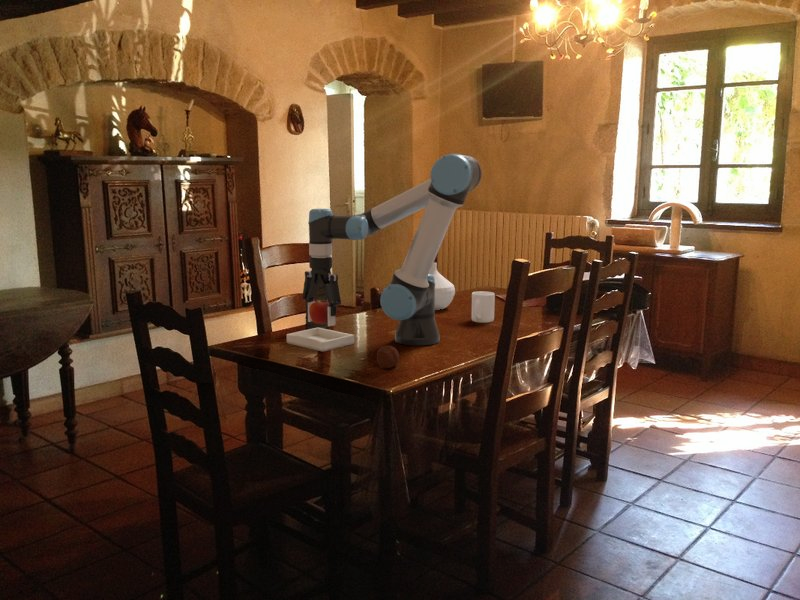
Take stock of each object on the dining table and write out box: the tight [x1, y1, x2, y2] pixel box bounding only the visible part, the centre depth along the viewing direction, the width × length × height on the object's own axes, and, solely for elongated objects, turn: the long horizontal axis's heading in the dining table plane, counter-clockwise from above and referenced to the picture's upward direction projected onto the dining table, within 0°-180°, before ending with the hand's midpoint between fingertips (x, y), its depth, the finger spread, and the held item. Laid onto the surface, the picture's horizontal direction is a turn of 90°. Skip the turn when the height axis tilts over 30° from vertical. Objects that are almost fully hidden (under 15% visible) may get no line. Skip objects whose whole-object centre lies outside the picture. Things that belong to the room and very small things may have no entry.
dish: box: [286, 327, 355, 352], centre depth 234 cm, size 18×14×3 cm
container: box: [304, 283, 331, 330], centre depth 250 cm, size 9×9×18 cm
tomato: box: [309, 300, 338, 324], centre depth 234 cm, size 9×9×8 cm
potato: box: [376, 344, 400, 369], centre depth 206 cm, size 7×9×6 cm
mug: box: [471, 290, 496, 324], centre depth 268 cm, size 9×12×11 cm
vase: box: [429, 262, 456, 311], centre depth 294 cm, size 18×18×19 cm
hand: (321, 323), depth 234 cm, fingers closed on tomato, 9 cm apart
